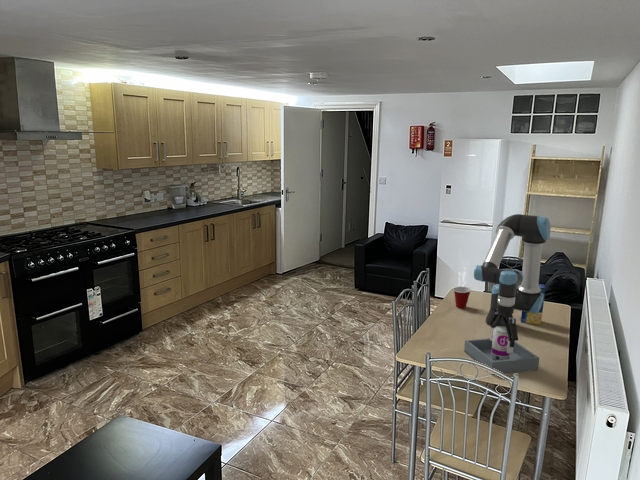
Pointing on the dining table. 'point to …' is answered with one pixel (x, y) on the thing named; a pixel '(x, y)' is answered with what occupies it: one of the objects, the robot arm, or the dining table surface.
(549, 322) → the dining table surface
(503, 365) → the tray
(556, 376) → the dining table surface
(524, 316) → the beverage box
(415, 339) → the dining table surface
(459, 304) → the plastic cup
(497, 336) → the supplement can
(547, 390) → the dining table surface
